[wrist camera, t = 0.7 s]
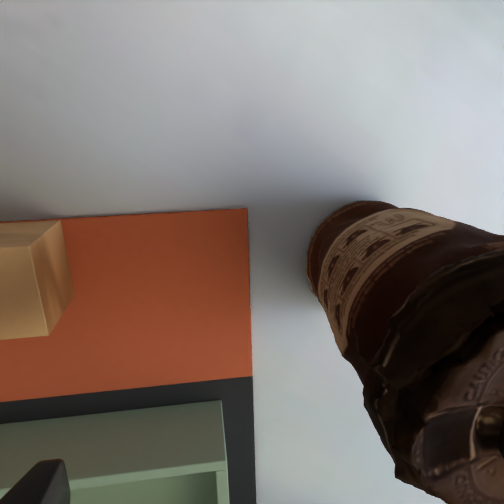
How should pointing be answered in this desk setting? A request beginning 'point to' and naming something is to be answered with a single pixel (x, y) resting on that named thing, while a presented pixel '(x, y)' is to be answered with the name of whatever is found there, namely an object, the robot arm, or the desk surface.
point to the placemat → (147, 328)
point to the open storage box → (127, 454)
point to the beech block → (33, 278)
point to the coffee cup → (421, 339)
